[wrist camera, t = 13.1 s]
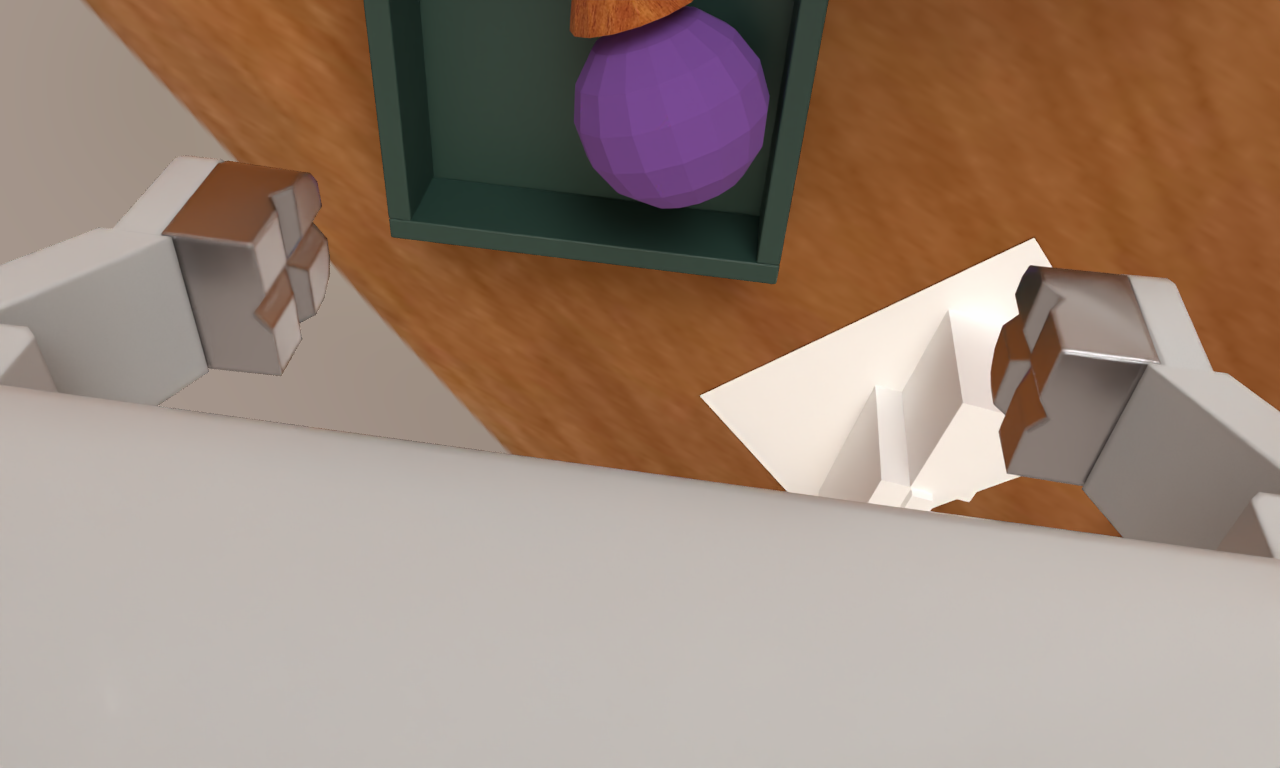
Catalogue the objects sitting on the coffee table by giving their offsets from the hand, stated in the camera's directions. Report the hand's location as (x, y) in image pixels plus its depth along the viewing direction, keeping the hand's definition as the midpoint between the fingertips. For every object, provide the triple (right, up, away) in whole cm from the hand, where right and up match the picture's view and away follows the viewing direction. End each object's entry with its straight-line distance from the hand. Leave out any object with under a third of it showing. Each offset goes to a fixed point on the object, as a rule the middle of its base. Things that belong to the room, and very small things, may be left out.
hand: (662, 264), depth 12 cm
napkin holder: (+11, -2, +32) cm, 34 cm away
